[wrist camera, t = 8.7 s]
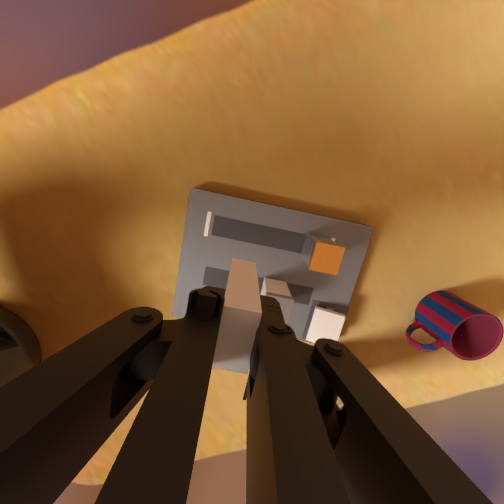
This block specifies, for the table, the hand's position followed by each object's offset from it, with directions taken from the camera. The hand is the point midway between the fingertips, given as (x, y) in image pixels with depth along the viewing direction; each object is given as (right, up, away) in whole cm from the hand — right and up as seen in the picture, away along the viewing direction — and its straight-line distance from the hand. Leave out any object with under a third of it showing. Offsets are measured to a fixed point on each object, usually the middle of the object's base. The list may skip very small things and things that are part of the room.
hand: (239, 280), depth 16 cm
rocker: (+11, -8, +20) cm, 24 cm away
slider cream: (+4, -3, +18) cm, 19 cm away
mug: (+27, -7, +22) cm, 36 cm away
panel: (+3, -1, +20) cm, 20 cm away
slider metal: (+9, +2, +17) cm, 19 cm away
